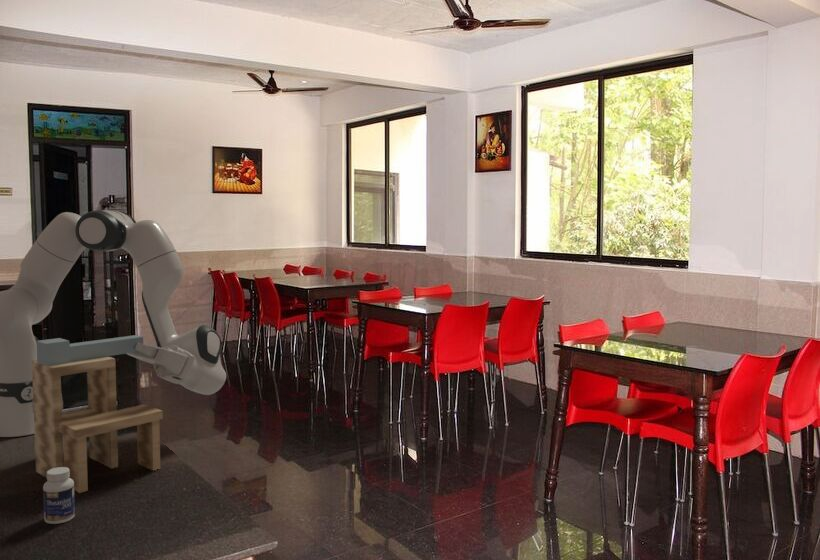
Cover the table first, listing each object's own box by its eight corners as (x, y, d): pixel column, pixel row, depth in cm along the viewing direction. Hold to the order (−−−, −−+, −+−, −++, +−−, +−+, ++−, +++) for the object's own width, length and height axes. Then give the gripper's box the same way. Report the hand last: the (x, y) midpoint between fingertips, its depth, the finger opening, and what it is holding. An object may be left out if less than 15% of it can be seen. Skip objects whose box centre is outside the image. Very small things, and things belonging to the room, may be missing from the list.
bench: (61, 484, 150) (59, 422, 149) (146, 460, 166) (144, 404, 164) (77, 494, 145) (75, 430, 144) (163, 468, 161) (162, 410, 159)
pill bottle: (44, 527, 130) (42, 477, 129) (44, 515, 135) (42, 468, 134) (75, 521, 133) (73, 473, 132) (74, 510, 137) (73, 463, 137)
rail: (37, 362, 153) (36, 340, 153) (134, 348, 171) (134, 328, 170) (46, 366, 150) (46, 343, 150) (145, 351, 168) (144, 331, 167)
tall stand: (36, 471, 158) (31, 360, 155) (96, 455, 168) (93, 352, 166) (56, 484, 151) (52, 368, 148) (118, 466, 161) (115, 358, 159)
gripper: (156, 346, 184) (112, 326, 174) (199, 357, 171) (154, 336, 161) (145, 368, 182) (100, 349, 172) (188, 381, 169) (142, 361, 159)
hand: (126, 342), depth 167 cm, fingers open, 7 cm apart
